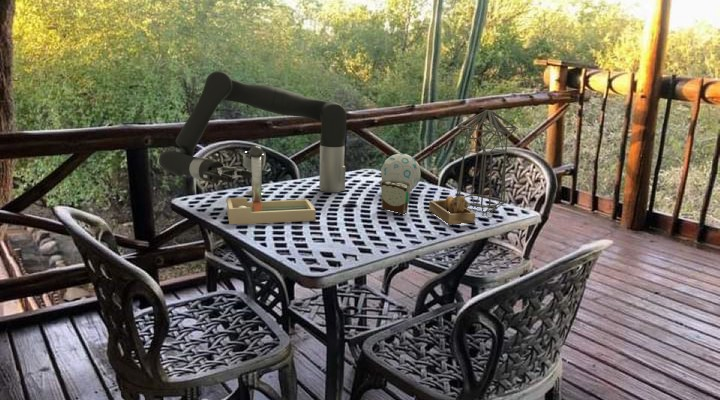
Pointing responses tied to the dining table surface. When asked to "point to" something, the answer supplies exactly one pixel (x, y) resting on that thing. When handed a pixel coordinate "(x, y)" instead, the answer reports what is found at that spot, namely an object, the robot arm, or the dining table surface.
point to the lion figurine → (456, 204)
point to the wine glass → (248, 165)
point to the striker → (256, 178)
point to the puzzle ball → (401, 169)
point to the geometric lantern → (491, 119)
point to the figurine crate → (449, 218)
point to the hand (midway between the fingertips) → (241, 177)
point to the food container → (395, 195)
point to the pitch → (269, 211)
